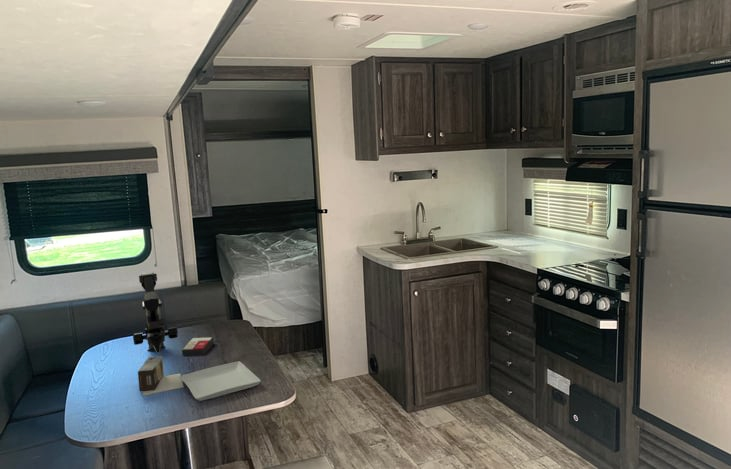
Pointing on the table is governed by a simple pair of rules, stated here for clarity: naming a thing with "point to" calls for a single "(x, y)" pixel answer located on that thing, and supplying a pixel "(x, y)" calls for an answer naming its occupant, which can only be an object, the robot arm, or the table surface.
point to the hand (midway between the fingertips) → (158, 352)
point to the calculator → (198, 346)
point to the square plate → (219, 380)
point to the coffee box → (150, 373)
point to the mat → (167, 384)
